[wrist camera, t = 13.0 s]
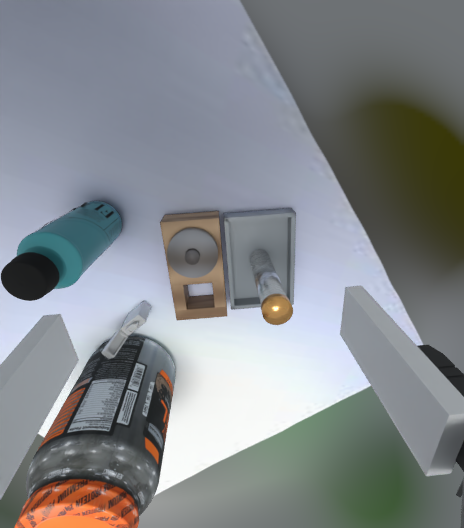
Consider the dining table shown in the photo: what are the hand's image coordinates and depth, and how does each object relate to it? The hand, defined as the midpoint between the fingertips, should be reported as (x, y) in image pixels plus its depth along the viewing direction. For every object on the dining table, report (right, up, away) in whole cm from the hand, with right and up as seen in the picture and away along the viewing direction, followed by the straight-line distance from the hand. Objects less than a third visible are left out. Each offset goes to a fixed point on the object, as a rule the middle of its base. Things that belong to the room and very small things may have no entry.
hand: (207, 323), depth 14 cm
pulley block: (-4, +3, +33) cm, 33 cm away
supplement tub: (-17, -16, +41) cm, 47 cm away
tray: (+5, +4, +33) cm, 34 cm away
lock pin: (+6, +4, +33) cm, 33 cm away
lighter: (-16, -6, +37) cm, 40 cm away
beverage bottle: (-18, +9, +30) cm, 36 cm away
